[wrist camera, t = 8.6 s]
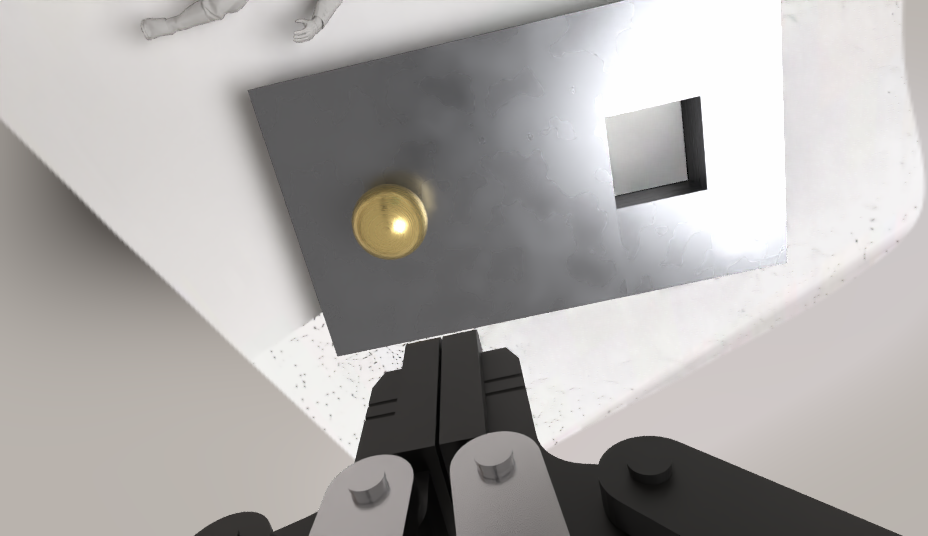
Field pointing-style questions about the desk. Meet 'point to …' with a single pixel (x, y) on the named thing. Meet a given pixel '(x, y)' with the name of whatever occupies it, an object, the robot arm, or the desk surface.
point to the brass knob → (389, 221)
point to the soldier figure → (218, 3)
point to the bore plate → (535, 166)
